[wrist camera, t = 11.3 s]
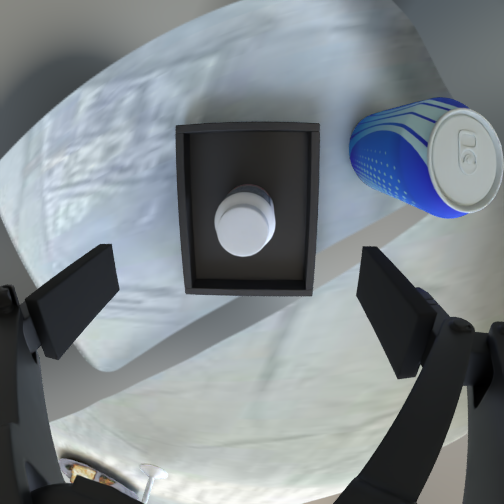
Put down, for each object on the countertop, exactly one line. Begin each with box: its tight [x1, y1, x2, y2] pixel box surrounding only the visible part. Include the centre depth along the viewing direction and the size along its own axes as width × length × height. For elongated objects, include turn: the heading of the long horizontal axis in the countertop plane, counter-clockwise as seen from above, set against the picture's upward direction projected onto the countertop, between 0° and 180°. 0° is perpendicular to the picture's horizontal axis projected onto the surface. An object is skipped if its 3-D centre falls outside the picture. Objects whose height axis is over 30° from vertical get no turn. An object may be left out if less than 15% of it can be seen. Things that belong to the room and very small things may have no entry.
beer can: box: [349, 97, 503, 218], centre depth 22 cm, size 8×8×16 cm
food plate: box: [59, 458, 138, 500], centre depth 56 cm, size 25×23×4 cm
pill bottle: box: [215, 184, 276, 257], centre depth 27 cm, size 5×5×9 cm
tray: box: [176, 122, 320, 296], centre depth 31 cm, size 18×14×3 cm
